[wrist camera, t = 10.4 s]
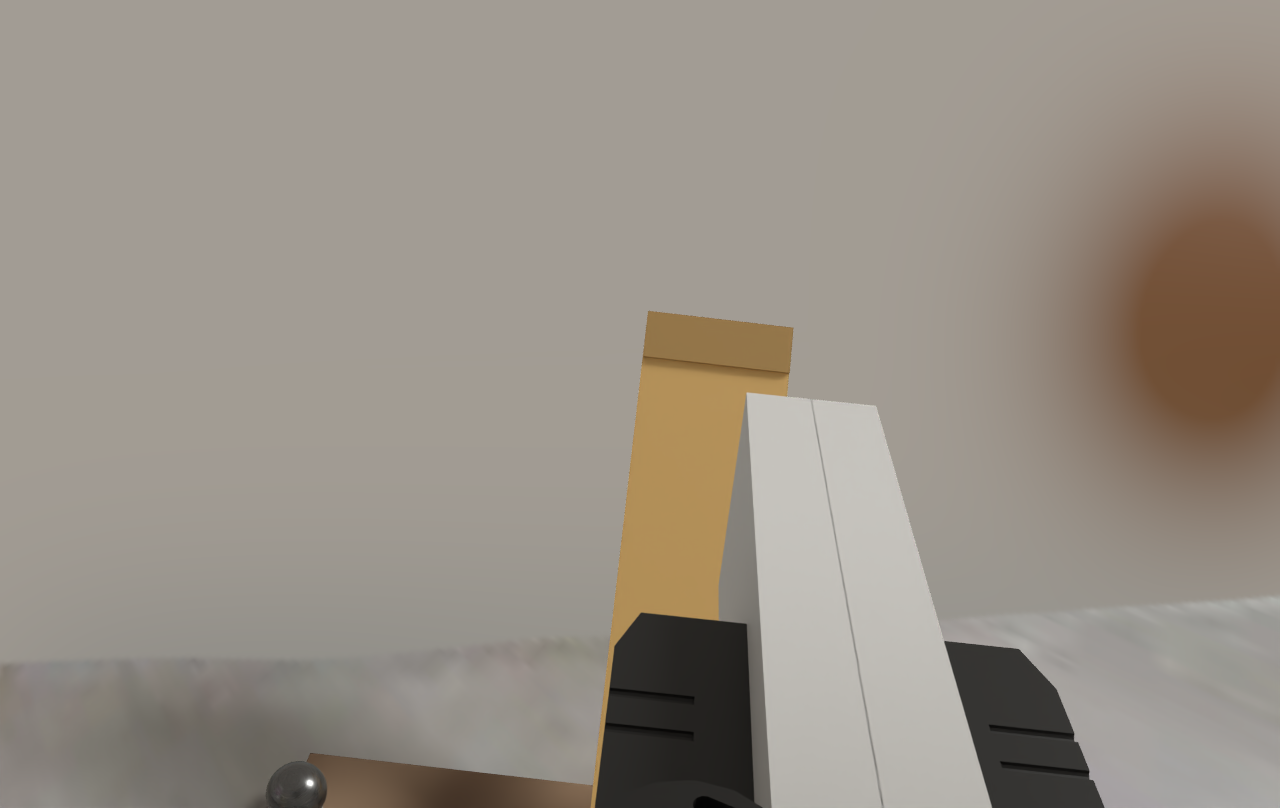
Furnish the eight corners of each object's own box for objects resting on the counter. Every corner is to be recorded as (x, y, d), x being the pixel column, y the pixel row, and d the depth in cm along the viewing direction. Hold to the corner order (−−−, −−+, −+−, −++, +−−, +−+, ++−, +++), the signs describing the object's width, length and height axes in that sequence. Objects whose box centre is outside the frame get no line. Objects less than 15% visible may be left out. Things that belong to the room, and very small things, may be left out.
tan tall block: (738, 884, 36) (785, 342, 40) (745, 895, 34) (793, 327, 38) (583, 866, 36) (646, 326, 40) (582, 876, 34) (648, 311, 38)
